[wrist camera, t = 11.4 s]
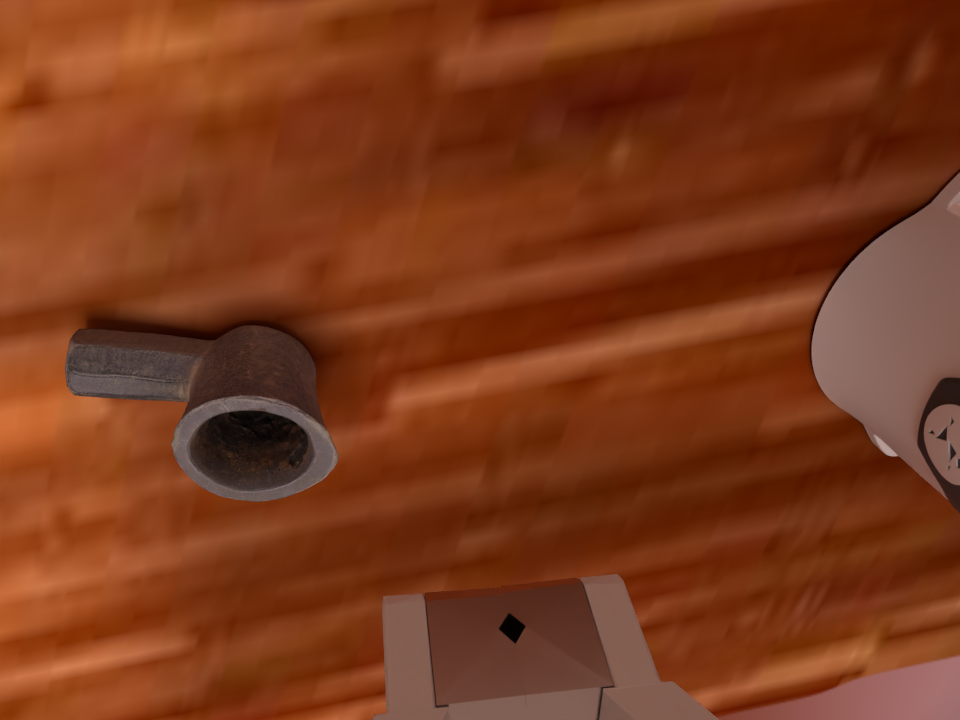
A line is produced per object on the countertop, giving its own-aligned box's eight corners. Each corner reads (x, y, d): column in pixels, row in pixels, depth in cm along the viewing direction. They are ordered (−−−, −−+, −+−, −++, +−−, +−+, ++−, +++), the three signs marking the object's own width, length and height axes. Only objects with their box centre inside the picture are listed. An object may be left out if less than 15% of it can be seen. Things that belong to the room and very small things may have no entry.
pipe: (83, 286, 41) (30, 376, 34) (347, 318, 43) (347, 407, 37) (86, 389, 44) (38, 490, 37) (333, 413, 46) (330, 511, 40)
